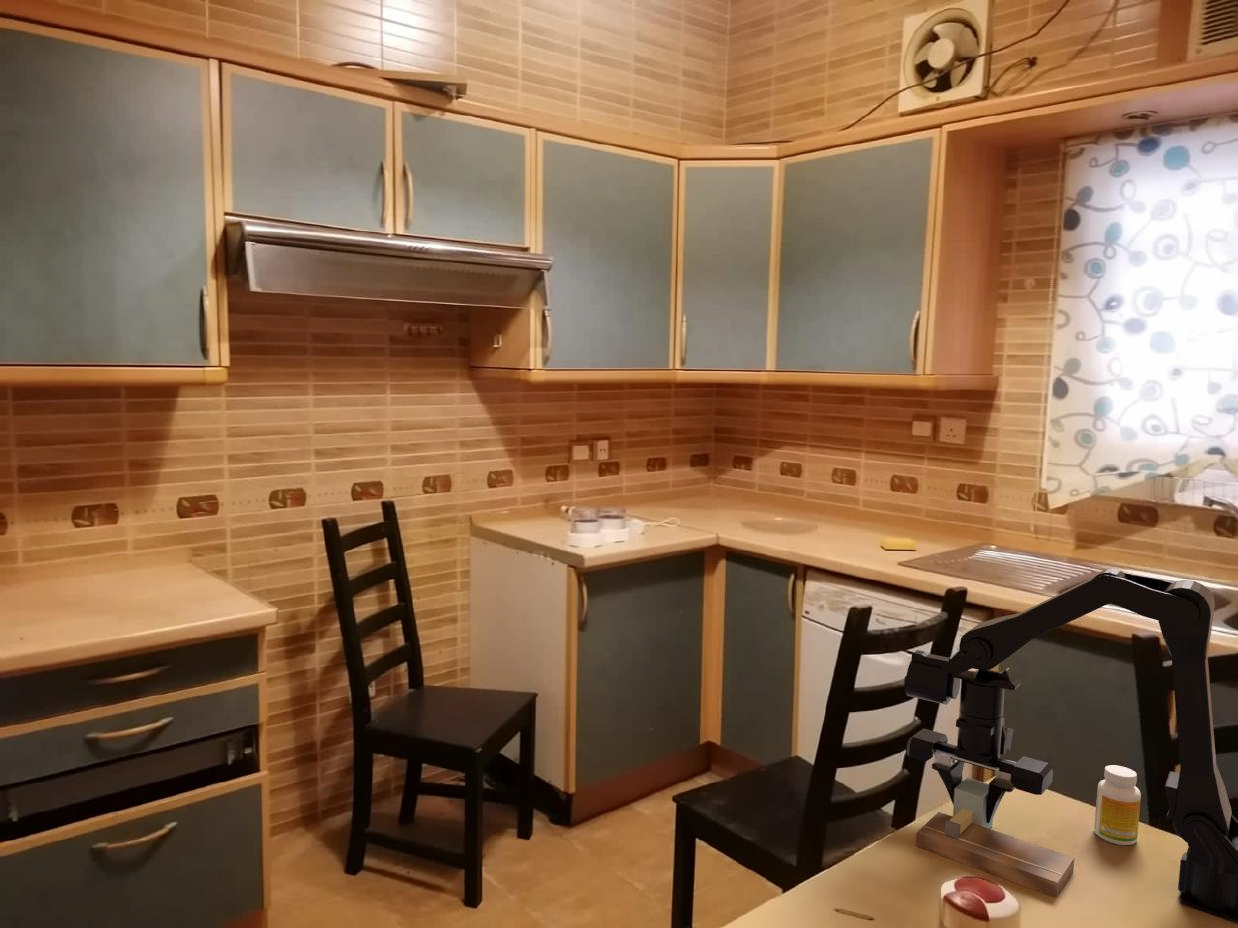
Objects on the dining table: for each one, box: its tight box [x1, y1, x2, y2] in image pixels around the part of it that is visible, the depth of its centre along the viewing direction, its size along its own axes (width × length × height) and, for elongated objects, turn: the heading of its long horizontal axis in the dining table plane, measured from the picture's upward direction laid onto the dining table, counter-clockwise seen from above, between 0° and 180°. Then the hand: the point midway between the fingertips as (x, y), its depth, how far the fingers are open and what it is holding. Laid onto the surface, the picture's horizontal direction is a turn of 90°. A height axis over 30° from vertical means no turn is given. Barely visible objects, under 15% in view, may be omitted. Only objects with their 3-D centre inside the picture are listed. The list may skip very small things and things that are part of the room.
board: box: [915, 811, 1075, 898], centre depth 121 cm, size 18×8×2 cm, turn 50°
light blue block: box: [944, 777, 994, 839], centre depth 126 cm, size 4×11×6 cm, turn 140°
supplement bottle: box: [1093, 764, 1142, 846], centre depth 127 cm, size 5×5×10 cm
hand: (973, 816), depth 129 cm, fingers closed on light blue block, 4 cm apart
